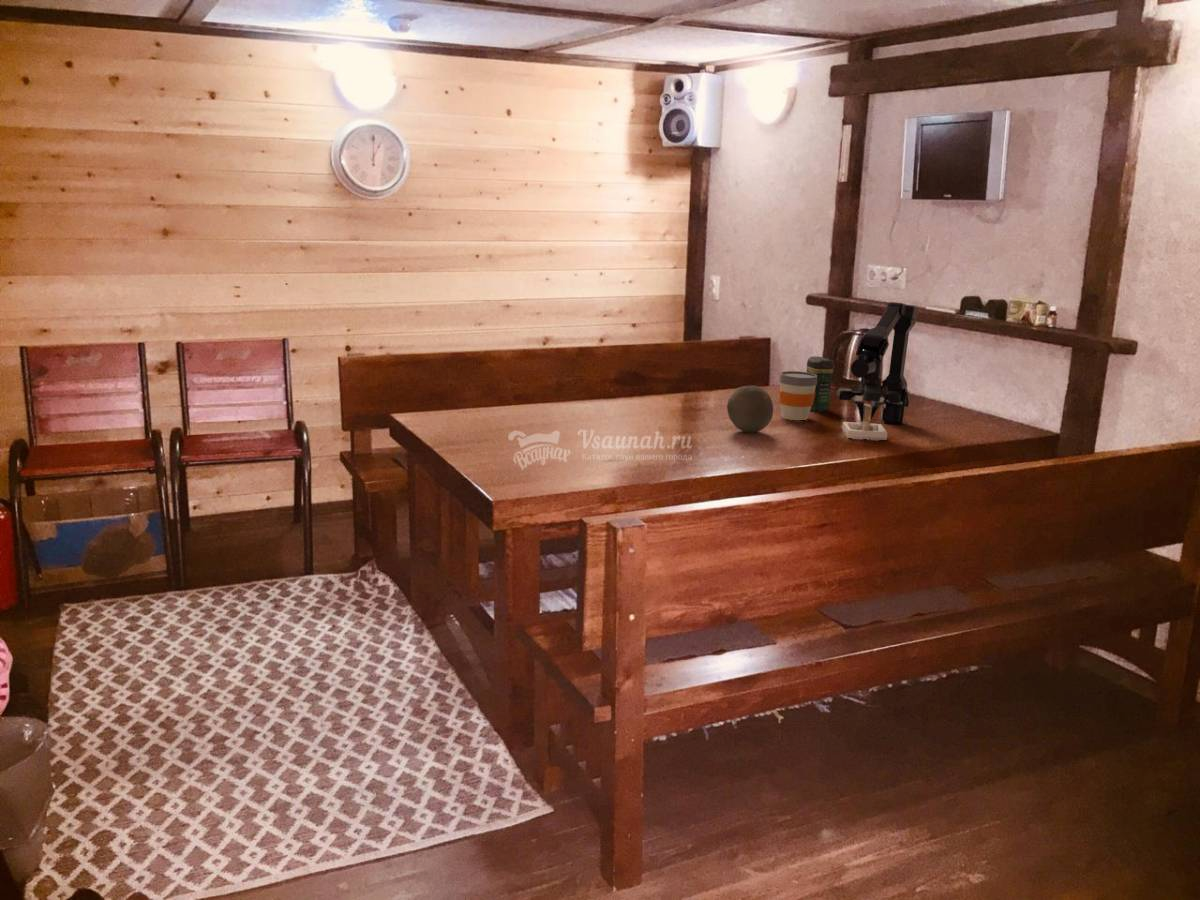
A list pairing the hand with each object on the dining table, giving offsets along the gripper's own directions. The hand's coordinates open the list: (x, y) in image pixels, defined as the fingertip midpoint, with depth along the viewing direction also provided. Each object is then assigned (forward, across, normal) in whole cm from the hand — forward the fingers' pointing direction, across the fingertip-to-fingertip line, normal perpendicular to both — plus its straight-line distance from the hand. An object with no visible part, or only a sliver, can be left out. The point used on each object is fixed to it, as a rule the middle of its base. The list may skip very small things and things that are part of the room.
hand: (865, 422), depth 315 cm
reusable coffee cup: (+4, -20, +19) cm, 28 cm away
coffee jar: (+4, -11, +36) cm, 38 cm away
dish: (+4, 0, 0) cm, 4 cm away
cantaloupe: (+4, -37, -7) cm, 38 cm away
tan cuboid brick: (+2, 0, 0) cm, 3 cm away
